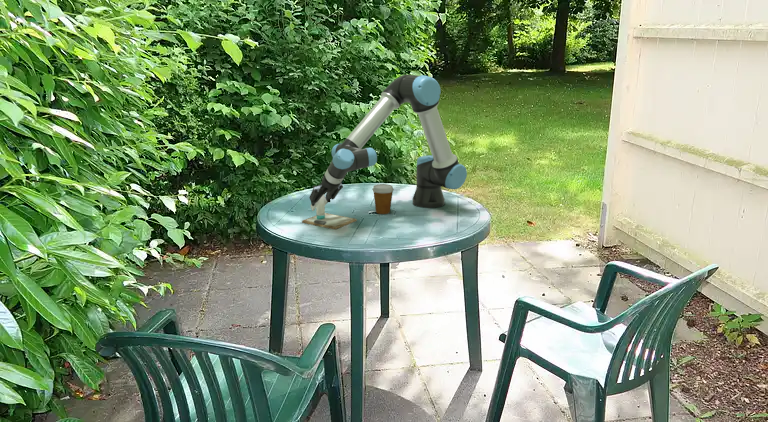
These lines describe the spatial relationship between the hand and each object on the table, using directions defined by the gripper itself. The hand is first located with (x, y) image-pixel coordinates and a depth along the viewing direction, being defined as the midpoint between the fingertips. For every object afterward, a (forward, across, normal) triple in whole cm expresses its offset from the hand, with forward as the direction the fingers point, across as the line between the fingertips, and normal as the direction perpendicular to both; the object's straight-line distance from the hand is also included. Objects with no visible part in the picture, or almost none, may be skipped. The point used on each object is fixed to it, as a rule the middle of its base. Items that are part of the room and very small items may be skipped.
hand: (316, 207), depth 269 cm
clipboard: (-1, +3, -8) cm, 9 cm away
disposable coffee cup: (-1, +30, -8) cm, 31 cm away
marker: (0, 0, -5) cm, 5 cm away
